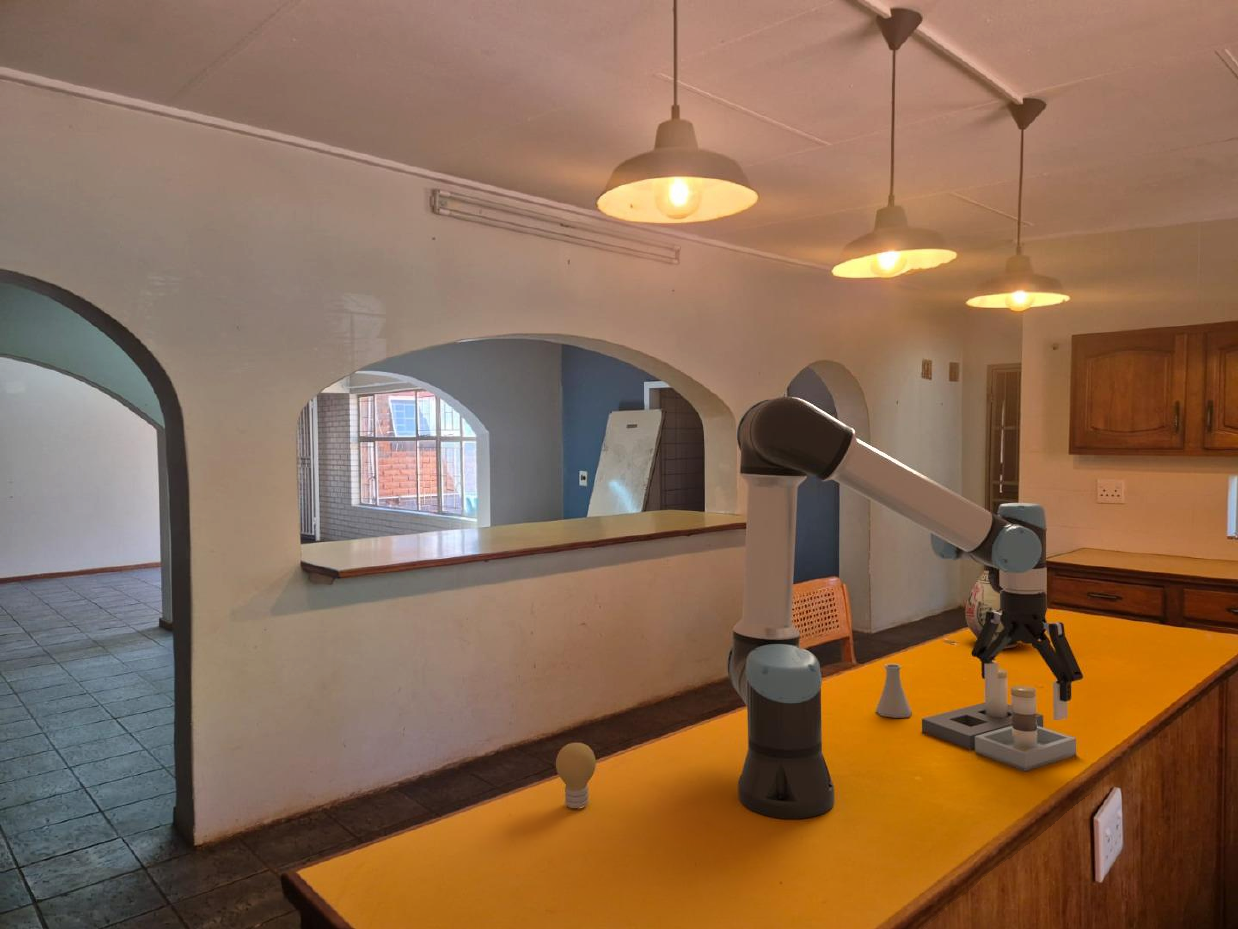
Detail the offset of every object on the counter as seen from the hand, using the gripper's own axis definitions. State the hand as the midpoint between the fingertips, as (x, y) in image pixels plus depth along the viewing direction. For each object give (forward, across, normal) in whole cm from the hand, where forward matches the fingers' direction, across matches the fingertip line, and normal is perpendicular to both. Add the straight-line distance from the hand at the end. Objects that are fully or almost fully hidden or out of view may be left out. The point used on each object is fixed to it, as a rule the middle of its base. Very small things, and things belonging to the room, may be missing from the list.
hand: (1024, 708), depth 146 cm
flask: (+9, +28, +3) cm, 29 cm away
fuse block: (+8, +12, -4) cm, 15 cm away
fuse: (+8, +12, -8) cm, 17 cm away
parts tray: (+8, 0, 0) cm, 8 cm away
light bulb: (+8, +23, +78) cm, 82 cm away
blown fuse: (+8, 0, 0) cm, 8 cm away
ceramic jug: (+8, +52, -61) cm, 81 cm away
